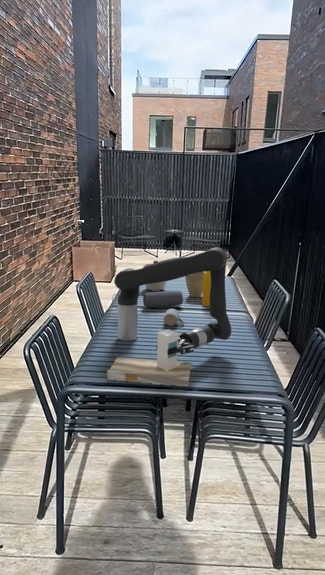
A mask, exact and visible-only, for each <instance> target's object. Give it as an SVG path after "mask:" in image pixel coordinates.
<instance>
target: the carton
mask: <svg viewBox="0 0 325 575" xmlns="http://www.w3.org/2000/svg"><path fill="white" fill-rule="evenodd" d="M178 338H179V332H177V331H174V330H172V329H169V328H168V329H164V330H161V331H158V332H157V344H156V350H157V354H156V360H157V366H158V367H159V368H161V369H163V370H165V371H168V370H171V369H173V368H176V367H177V362H178V355H179V353H174V354H171V355H168V349H170V348H173V347H176V346H178Z"/></svg>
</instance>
